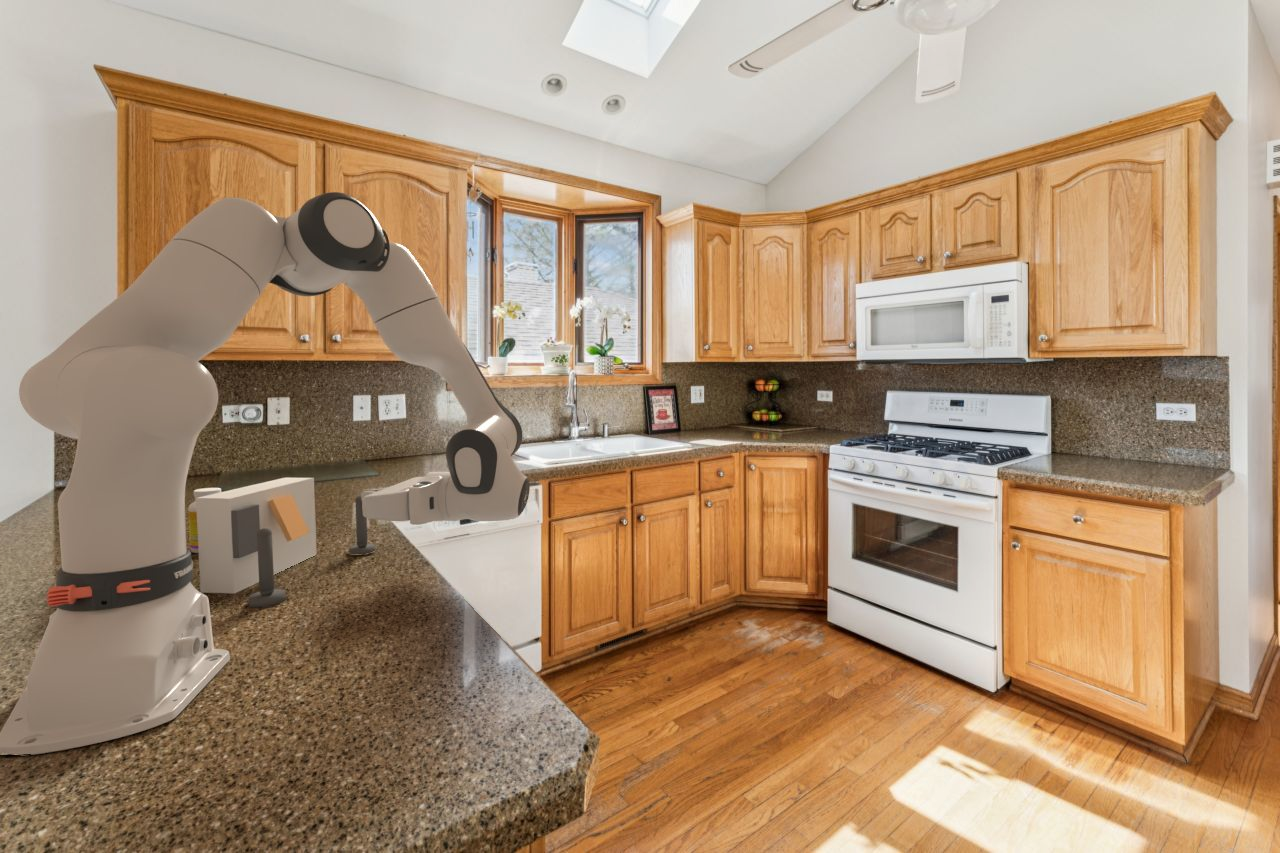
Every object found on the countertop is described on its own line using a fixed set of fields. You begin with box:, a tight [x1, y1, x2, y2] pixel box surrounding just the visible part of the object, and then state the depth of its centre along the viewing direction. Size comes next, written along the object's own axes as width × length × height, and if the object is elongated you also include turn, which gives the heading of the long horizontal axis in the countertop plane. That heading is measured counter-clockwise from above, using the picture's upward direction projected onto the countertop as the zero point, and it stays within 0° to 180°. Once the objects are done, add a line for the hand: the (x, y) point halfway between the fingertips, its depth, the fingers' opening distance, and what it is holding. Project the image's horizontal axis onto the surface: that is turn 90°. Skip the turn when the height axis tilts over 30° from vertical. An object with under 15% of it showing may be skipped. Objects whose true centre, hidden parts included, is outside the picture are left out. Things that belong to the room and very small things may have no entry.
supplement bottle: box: [187, 487, 222, 554], centre depth 123 cm, size 7×7×13 cm
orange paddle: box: [268, 495, 310, 542], centre depth 108 cm, size 1×5×8 cm, turn 174°
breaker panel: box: [196, 477, 317, 594], centre depth 108 cm, size 6×22×16 cm, turn 176°
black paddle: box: [231, 505, 260, 558], centre depth 100 cm, size 1×5×8 cm, turn 176°
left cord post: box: [247, 528, 287, 609], centre depth 94 cm, size 5×5×12 cm
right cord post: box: [348, 494, 376, 554], centre depth 122 cm, size 5×5×12 cm
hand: (365, 495), depth 107 cm, fingers closed
